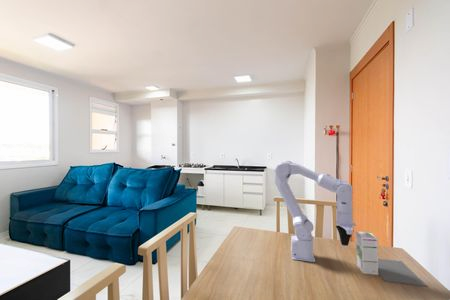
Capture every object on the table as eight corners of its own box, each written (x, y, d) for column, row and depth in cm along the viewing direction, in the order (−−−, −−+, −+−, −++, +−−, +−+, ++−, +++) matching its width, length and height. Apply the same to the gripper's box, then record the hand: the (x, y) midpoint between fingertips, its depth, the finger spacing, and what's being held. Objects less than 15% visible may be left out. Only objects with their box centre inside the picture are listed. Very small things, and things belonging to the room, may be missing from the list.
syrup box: (378, 275, 80) (378, 238, 79) (361, 273, 81) (361, 236, 81) (371, 266, 85) (371, 231, 85) (355, 265, 86) (355, 231, 86)
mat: (384, 280, 76) (384, 280, 76) (366, 258, 92) (366, 257, 92) (427, 286, 73) (427, 285, 73) (401, 261, 88) (401, 261, 88)
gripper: (362, 218, 77) (362, 254, 77) (349, 207, 91) (349, 238, 91) (341, 217, 79) (341, 252, 79) (331, 206, 93) (332, 236, 93)
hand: (344, 244), depth 85 cm, fingers closed
